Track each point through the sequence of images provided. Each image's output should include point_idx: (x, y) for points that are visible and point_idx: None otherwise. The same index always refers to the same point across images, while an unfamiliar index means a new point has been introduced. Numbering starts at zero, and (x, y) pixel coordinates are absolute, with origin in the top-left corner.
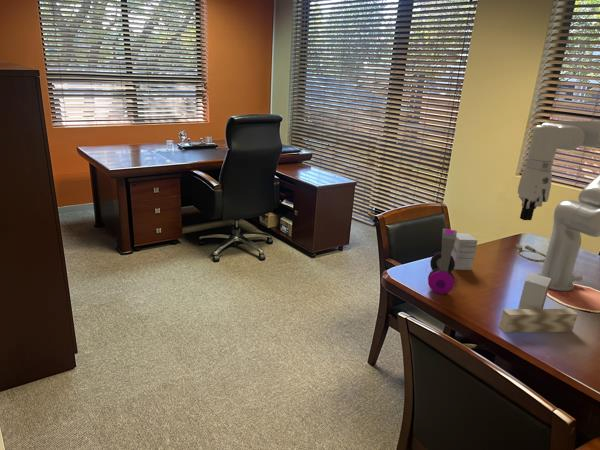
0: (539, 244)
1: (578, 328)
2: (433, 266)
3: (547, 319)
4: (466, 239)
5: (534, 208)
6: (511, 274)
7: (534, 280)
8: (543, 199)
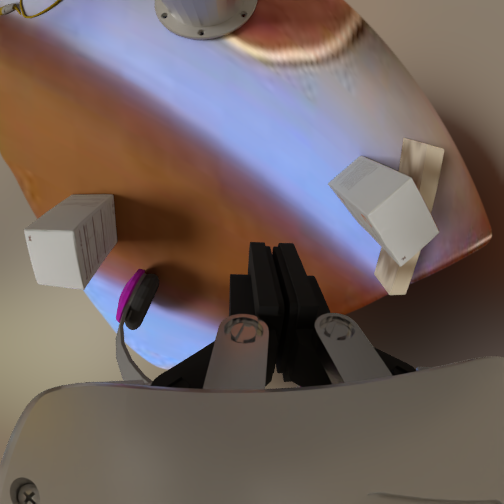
0: None
1: (414, 118)
2: (145, 313)
3: None
4: (76, 268)
5: (350, 332)
6: (138, 86)
7: (408, 242)
8: (474, 388)
